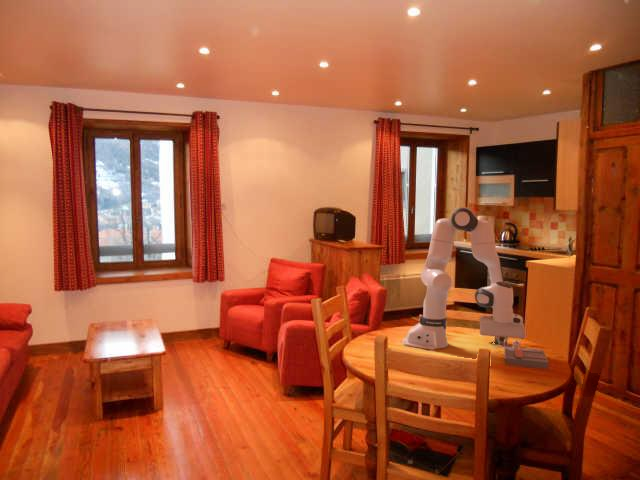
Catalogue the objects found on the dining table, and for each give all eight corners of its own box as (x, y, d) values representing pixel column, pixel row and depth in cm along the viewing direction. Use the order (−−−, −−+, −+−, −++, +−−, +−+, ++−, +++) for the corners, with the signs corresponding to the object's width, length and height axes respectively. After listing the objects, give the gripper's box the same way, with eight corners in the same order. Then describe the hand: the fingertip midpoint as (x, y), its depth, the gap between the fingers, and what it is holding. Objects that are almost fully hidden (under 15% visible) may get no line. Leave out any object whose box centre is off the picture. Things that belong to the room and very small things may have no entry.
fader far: (513, 350, 228) (513, 343, 228) (512, 347, 233) (513, 340, 233) (520, 351, 227) (520, 343, 227) (519, 348, 232) (519, 340, 232)
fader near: (515, 356, 220) (515, 349, 219) (514, 353, 224) (514, 345, 224) (522, 357, 219) (522, 349, 218) (521, 354, 224) (521, 346, 223)
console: (506, 364, 220) (507, 358, 219) (504, 352, 237) (504, 346, 236) (548, 369, 215) (548, 362, 214) (542, 356, 232) (543, 349, 231)
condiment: (510, 344, 250) (511, 321, 249) (500, 347, 245) (501, 323, 244) (498, 340, 256) (499, 318, 255) (488, 343, 251) (489, 320, 250)
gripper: (479, 317, 231) (478, 345, 232) (526, 320, 225) (525, 349, 227) (479, 313, 237) (478, 341, 238) (524, 316, 231) (523, 345, 233)
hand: (501, 345), depth 232 cm, fingers closed
